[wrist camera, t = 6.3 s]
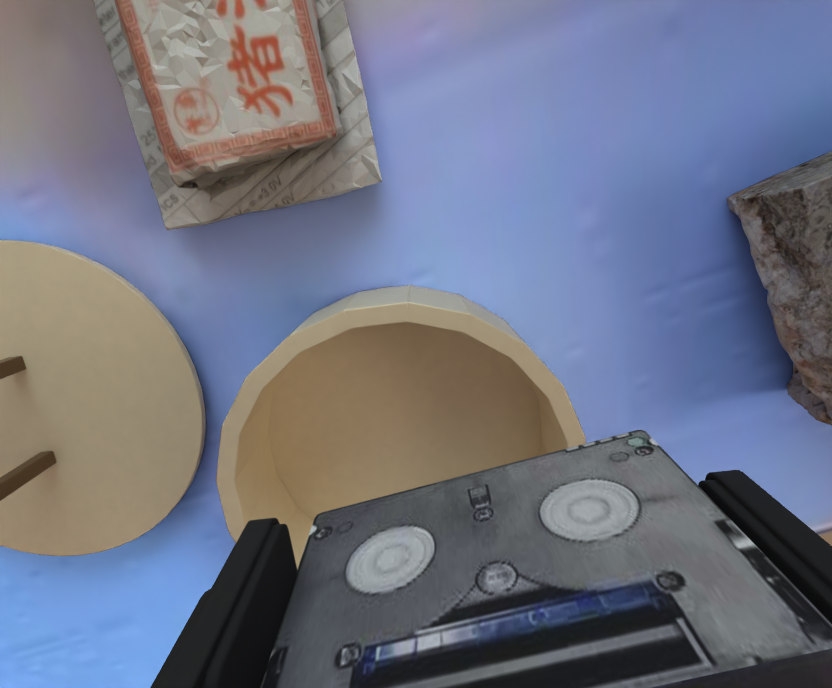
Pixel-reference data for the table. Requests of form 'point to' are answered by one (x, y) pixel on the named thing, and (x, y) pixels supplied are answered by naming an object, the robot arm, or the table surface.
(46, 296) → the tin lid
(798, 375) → the geological specimen
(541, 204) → the table surface
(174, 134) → the packaged product
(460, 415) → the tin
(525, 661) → the mini dv tape
